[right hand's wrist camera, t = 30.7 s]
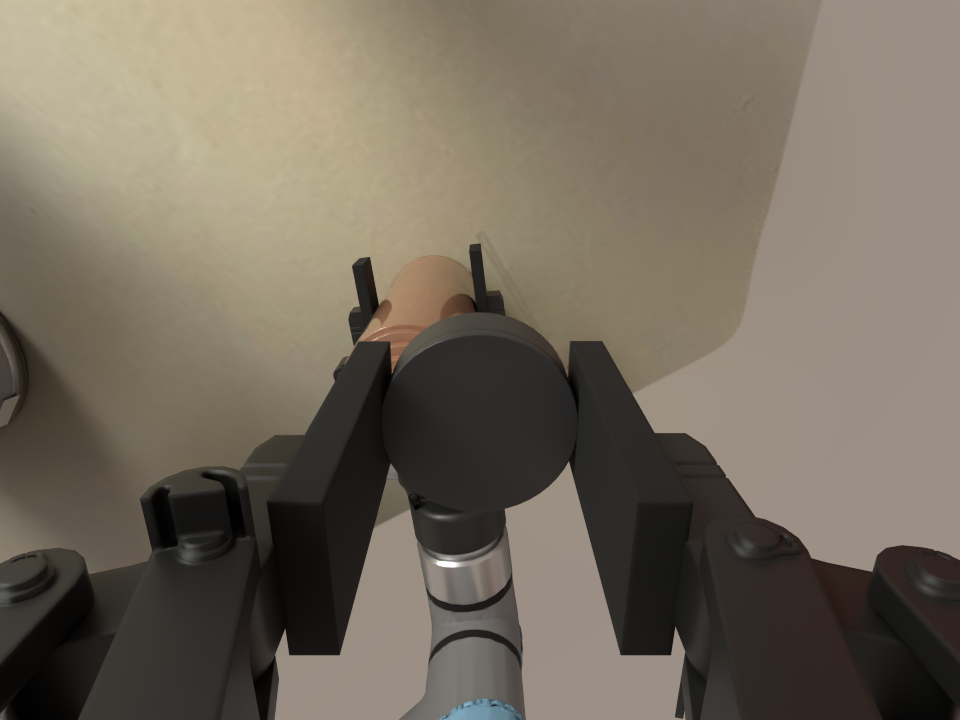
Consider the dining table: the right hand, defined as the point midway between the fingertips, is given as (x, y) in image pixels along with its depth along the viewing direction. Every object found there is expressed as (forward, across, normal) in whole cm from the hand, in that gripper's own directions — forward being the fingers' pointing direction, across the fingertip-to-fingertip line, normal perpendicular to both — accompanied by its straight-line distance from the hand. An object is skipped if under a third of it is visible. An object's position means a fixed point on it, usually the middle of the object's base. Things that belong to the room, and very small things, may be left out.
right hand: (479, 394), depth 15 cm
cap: (-1, 0, 0) cm, 1 cm away
